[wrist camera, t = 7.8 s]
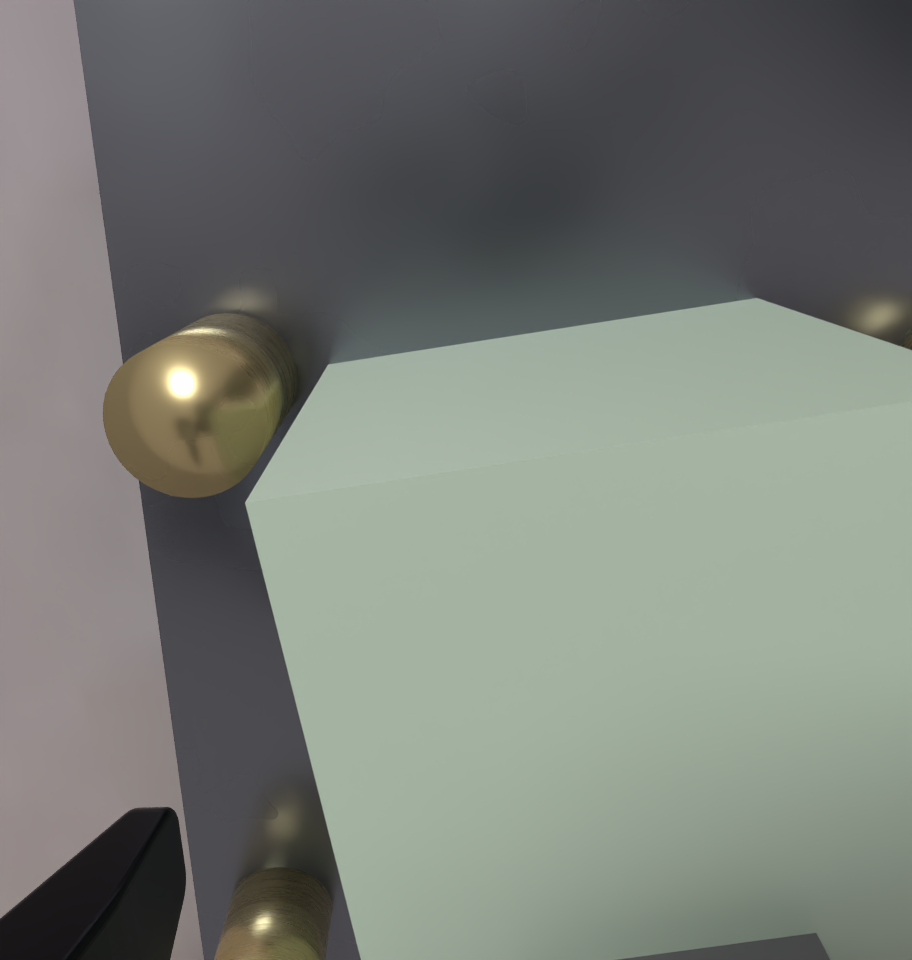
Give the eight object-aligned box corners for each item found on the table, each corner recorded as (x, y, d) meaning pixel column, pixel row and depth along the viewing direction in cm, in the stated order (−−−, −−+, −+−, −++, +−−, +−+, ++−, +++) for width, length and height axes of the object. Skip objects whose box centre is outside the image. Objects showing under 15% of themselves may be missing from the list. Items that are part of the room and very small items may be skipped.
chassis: (1063, 13, 10) (1347, -66, 7) (849, 1011, 15) (954, 1218, 12) (115, 9, 9) (-35, -76, 6) (238, 1026, 15) (188, 1242, 12)
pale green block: (756, 297, 10) (1089, 409, 5) (774, 897, 12) (987, 1340, 8) (328, 364, 10) (222, 540, 5) (446, 941, 13) (453, 1404, 8)
